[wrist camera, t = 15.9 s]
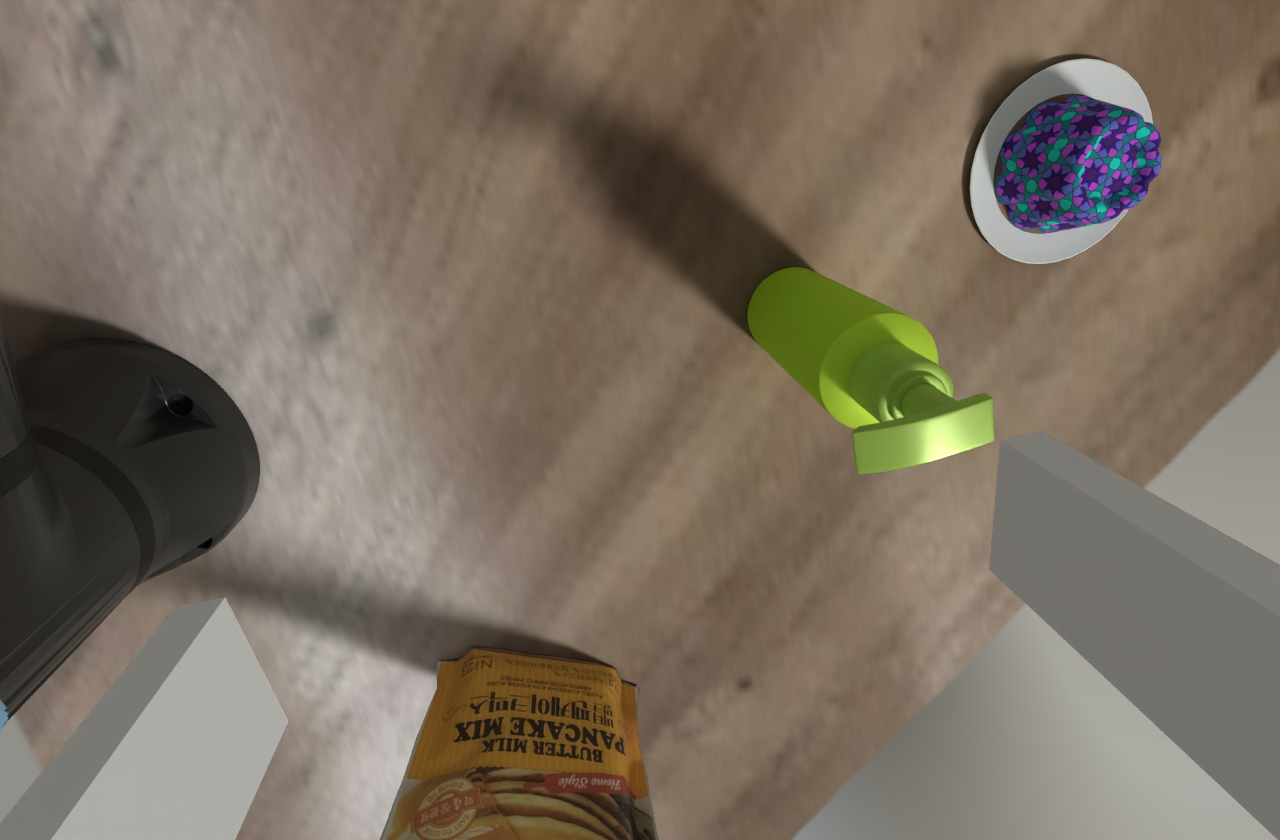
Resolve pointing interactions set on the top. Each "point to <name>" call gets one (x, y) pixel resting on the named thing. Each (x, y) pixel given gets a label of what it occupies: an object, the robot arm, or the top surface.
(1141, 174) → the patterned brimmed hat
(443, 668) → the pancake mix bag
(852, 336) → the soap dispenser
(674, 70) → the top surface
